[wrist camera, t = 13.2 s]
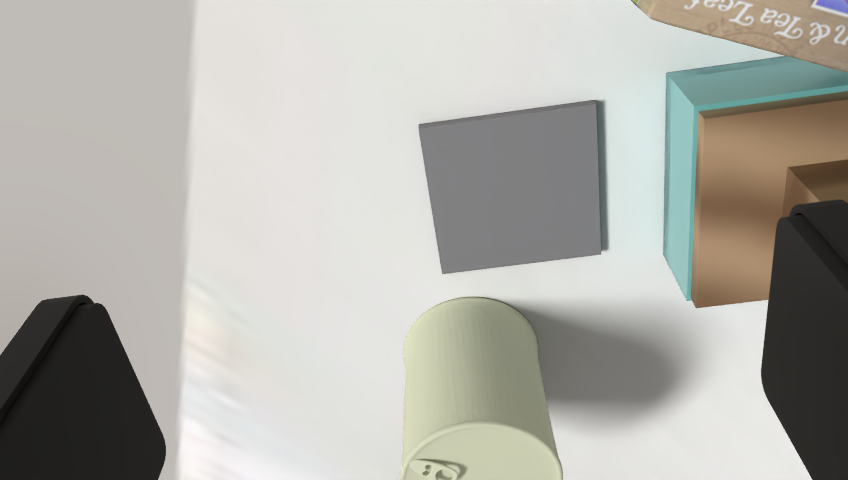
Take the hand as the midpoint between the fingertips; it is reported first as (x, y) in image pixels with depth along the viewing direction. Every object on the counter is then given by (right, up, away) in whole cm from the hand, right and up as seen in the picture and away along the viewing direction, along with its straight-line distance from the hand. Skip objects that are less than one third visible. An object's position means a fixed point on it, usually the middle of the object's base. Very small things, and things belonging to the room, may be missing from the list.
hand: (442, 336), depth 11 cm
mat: (+5, +4, +35) cm, 36 cm away
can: (+3, -6, +42) cm, 42 cm away
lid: (+20, +4, +30) cm, 36 cm away
